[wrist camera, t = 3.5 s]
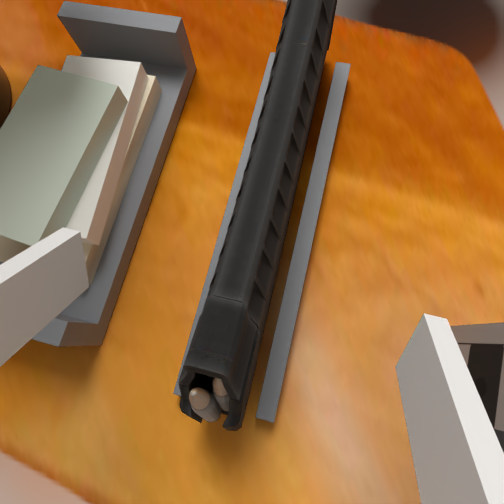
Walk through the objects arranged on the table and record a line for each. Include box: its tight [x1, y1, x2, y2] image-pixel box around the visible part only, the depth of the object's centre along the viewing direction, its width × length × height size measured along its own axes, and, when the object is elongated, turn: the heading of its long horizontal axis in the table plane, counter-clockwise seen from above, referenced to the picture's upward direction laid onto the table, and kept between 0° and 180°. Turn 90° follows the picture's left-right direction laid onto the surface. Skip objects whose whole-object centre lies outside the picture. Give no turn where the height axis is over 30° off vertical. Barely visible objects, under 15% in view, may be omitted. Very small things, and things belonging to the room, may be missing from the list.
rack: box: [0, 1, 351, 423], centre depth 25 cm, size 23×28×5 cm
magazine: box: [178, 0, 337, 431], centre depth 22 cm, size 17×3×30 cm
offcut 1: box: [61, 55, 149, 245], centre depth 24 cm, size 6×14×2 cm, turn 170°
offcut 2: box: [0, 65, 128, 246], centre depth 22 cm, size 6×12×2 cm, turn 161°
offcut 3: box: [0, 75, 162, 285], centre depth 26 cm, size 7×17×2 cm, turn 166°
